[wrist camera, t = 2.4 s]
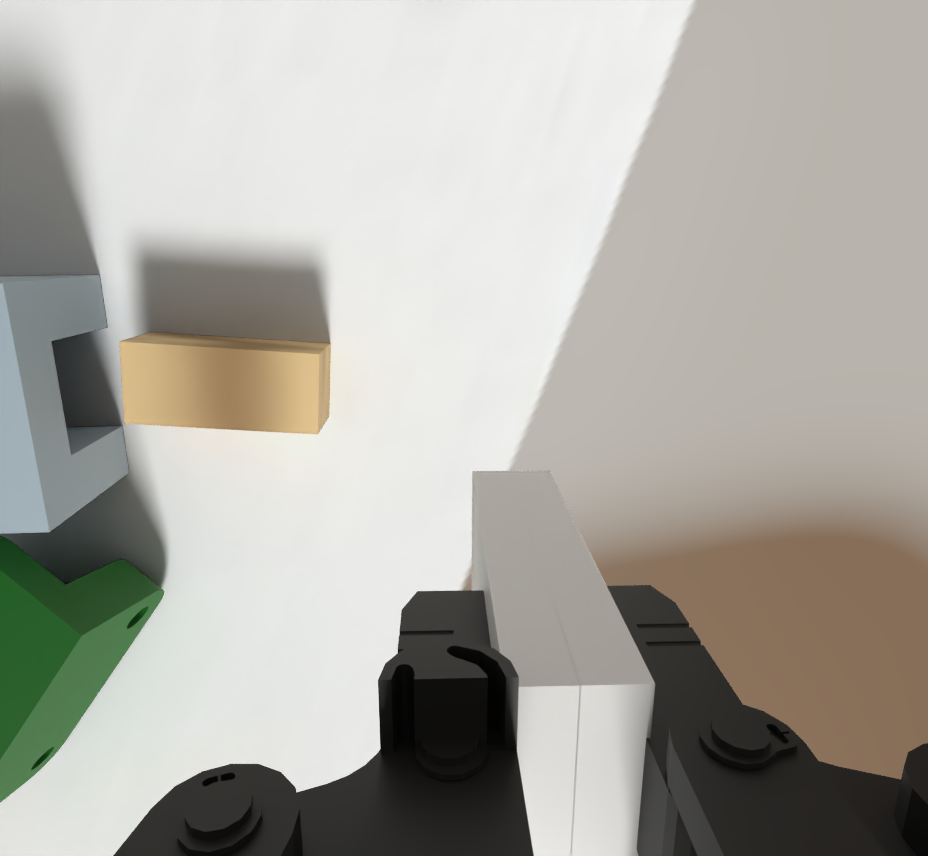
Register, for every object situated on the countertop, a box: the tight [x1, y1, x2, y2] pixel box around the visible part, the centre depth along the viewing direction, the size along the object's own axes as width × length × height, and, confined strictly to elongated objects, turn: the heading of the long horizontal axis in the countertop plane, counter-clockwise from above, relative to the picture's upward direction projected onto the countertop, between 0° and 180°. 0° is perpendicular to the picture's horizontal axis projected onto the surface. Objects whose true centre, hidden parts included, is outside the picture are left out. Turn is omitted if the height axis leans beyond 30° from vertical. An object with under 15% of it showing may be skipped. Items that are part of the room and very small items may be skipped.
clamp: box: [0, 536, 164, 802], centre depth 27 cm, size 12×6×9 cm
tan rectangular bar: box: [119, 332, 331, 434], centre depth 26 cm, size 7×3×3 cm, turn 86°
